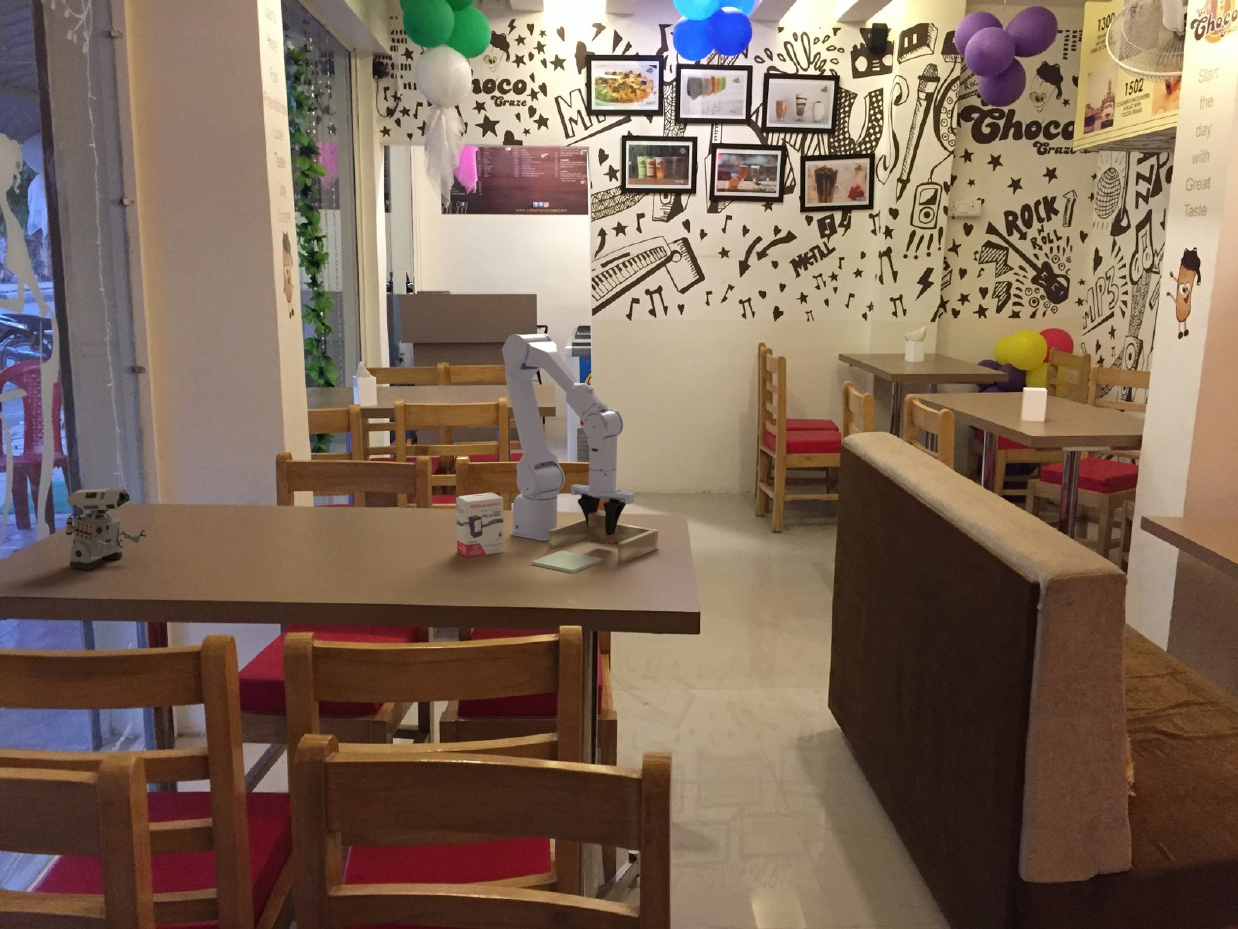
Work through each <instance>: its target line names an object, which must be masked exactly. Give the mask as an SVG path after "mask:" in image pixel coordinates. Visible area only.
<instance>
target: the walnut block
mask: <svg viewBox="0 0 1238 929" xmlns="http://www.w3.org/2000/svg"><path fill="white" fill-rule="evenodd" d="M614 536H615V533H614V534H612V535H607V533H606V514H605V510H600V509H598V511H595V512H592V513H589V514H588V537H587V542H589V543H593V544H599V545H607V544H609V543H613V542H612V541H614Z"/></svg>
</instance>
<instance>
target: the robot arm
mask: <svg viewBox="0 0 1238 929" xmlns="http://www.w3.org/2000/svg"><path fill="white" fill-rule="evenodd" d="M501 351H502V356H503V357H502V358H503V362H504V366H505V367H504V368H505V369H504V378H505V382H506V387H507V390H508V395H509V399H510V403H511V404H510V405H511V408H512V413H513V418H514V422H515V426H516V430H517V431H516V432H517V435H518V439H519V443H520V447H521V452H522V456H521V457H520V459H519V460H518V462H517V463H516V465H515V468H516V471H517V472H516V473H517V476H516V485H517V489H518V491H519V492H520V494H518V495H516V497H515V499H514V501H513V504H512V532H510V536H515V537H521V538H525V539H532V540H537V541H542V542H546V541H549V530H551V529H554V528H557V527H558V496H559V495H560V490H561V489H562V488H563V487H564V486H565V482H566V480H565V479H566V478H565V477H566V475H565V473H564V470H563V468H562V466H560V463H559V460H558V457H557V456H556V455H555V454H554V453H552V452H551V451H550V450H549V449H548V445H547V441H546V436H545V431H544V427H543V424H542V418H541V416H540V411H539V407H538V402H537V398H536V393H535V389H534V385H533V379H534V377H535V375H536V373H537V372H538V371H540V370H541V369H543V370H544V372H546V373H547V374H548V375H549V376H550V377H551V379H553V380H554V381H555V383H556V384H557V385H558V386H559V387H560V388H561V389H562V390H563V391H564V392H565V393H566V397H565V401H566V403H567V405H569V406H570V408H571V409H572V410H573V412H574V413H575V414H576V416H578V418H579V419H580V420H581V422H583V425H582V426H583V427H582V428H583V431H584V435H585V436H586V439H587V445H588V484H585V485H583V484H578V483H577V484H572V485H571V486H570V495H572V496H580V498H579V499H577V504H578V505H579V507H580V509H581V511H582V514H583V516H584V518H585V519H586V523H587V527H588V514H589V513H592V512H595V511H598V510H599V506H600V501H601V499H602V500H607V501H606V502H603V503H602V504H603V508H604V511H605V514H606V533H607V535H612V534H614V533H615V529H616V525H617V523H619V522H618V521H619V519H620V516H621V515H622V512H623V510H624V508H625V507H626V505H631V504H633V503H634V502H635V492H634V493H633V492H630V491H626V490H622V489H619V488H617V460H618V459H617V458H618V455H617V454H618V436H619V435H621V434H622V432H623V428H624V420H623V418H622V416H621V414H620V412H619V411H618V410H617V409H614V408H610V407H609V406H608V405H607V404H606V403H604V402H603V401H602V400H601V398H600V397H599V396H598V395H597V394H596V392H595V388H594V387H593V386H592V385H591V384H590V385H589V384H588V383H584V382H583V383H582V382H581V383H580V382H579V380H578V379H577V377H576V376H575V375H574V373H573V372H572V371H571V369H570V368H569V366H568V365H567V363H566V362H565V361H564V359H563V358H562V357H561V355H560V354H559V352H558V344H556V342H554V341H553V340H552V338H551V337H550V335H548V334H547V333H544V332H541V333H531V334H517V333H515V334H514V333H513V334H511V335H509V336H508V338H507V339H506V340H505V342H504V344H503V346H502V348H501ZM538 465H539V466H538ZM608 500H609V501H608Z"/></svg>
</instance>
